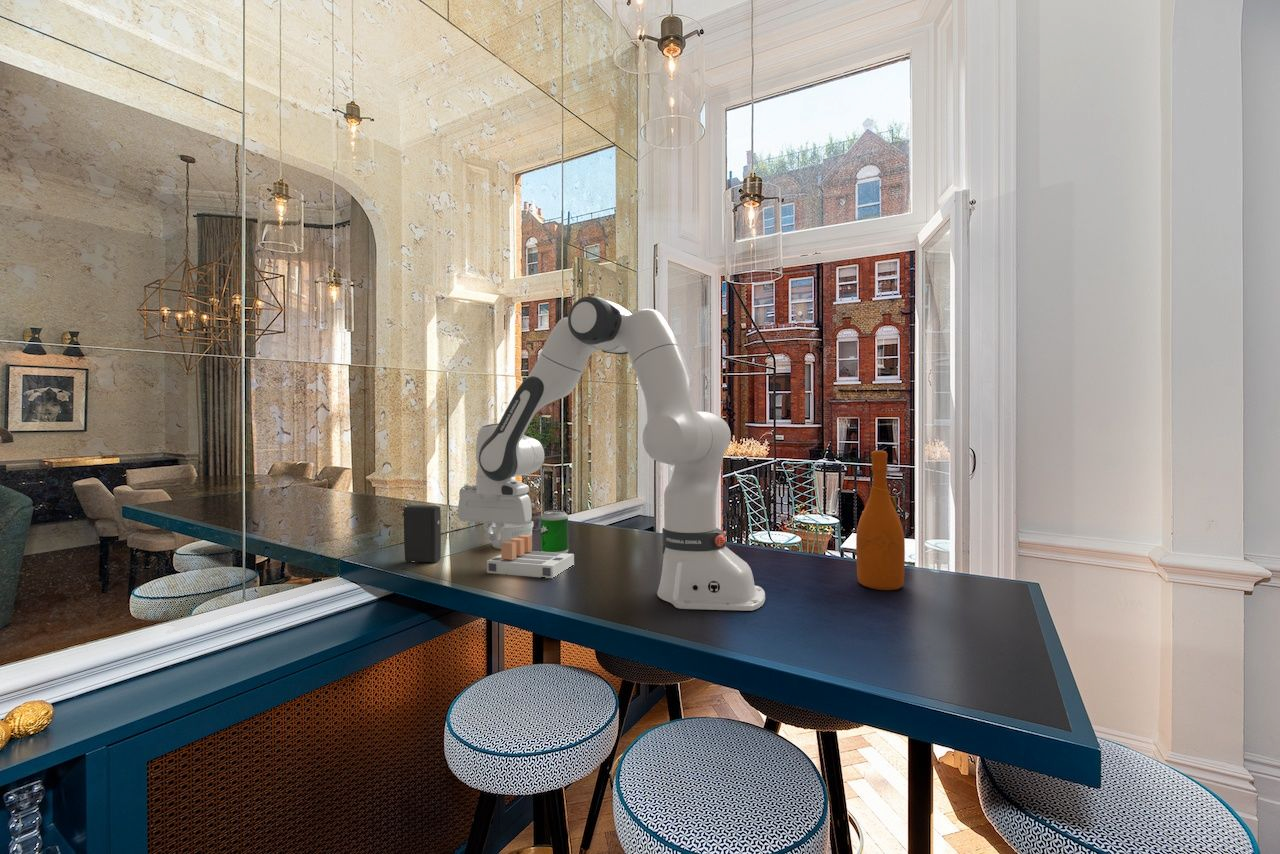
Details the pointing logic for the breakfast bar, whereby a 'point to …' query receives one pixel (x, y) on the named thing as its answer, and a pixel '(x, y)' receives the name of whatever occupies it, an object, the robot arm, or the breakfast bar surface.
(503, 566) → the white base
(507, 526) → the ramekin
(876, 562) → the wine bottle
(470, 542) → the breakfast bar surface
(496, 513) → the robot arm
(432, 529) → the card reader
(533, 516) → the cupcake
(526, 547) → the slider far
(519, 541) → the slider middle
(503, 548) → the slider near
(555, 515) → the soda can
